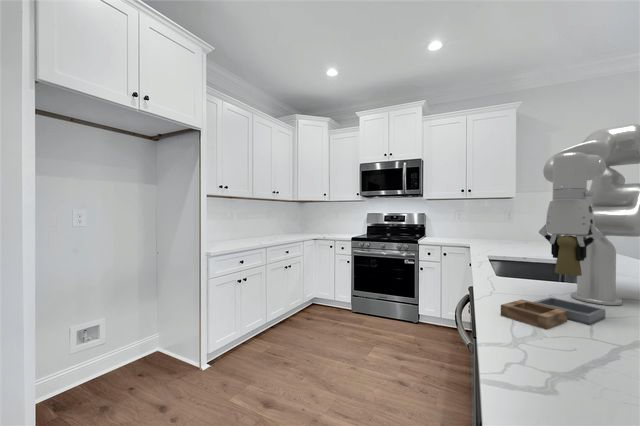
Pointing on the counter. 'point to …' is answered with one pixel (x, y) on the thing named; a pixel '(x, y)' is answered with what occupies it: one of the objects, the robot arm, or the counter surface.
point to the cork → (567, 256)
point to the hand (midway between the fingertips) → (568, 258)
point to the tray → (576, 310)
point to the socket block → (534, 313)
